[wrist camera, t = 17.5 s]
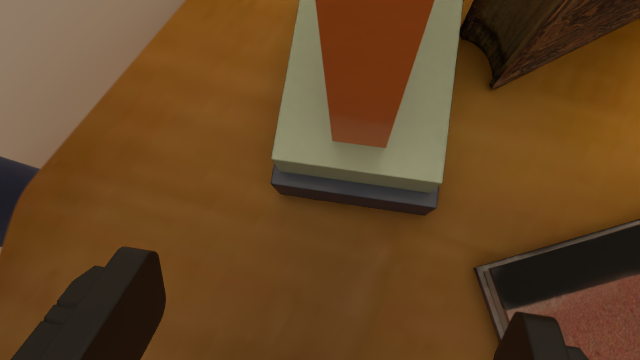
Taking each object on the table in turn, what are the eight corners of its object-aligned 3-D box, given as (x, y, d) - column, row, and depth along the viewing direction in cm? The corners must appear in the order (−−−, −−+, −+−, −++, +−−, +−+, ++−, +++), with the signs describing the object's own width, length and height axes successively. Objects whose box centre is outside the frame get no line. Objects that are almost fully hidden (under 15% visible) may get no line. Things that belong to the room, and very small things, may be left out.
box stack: (280, 194, 39) (260, 173, 30) (317, -23, 42) (309, -99, 33) (425, 215, 38) (448, 200, 29) (451, -8, 41) (480, -83, 32)
